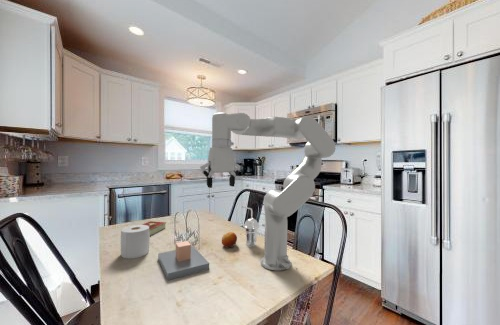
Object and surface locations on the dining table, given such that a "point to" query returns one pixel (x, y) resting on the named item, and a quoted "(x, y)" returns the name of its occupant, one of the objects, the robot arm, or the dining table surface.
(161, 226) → the hardcover book
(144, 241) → the toilet paper roll
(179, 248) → the terracotta block
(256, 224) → the cup with straw
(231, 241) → the fruit
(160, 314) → the dining table surface
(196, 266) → the slate board
